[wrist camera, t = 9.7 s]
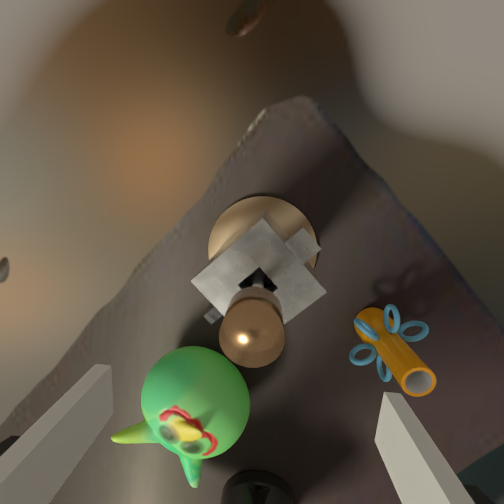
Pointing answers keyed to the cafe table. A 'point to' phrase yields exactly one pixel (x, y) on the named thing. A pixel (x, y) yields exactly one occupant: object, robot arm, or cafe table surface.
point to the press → (262, 267)
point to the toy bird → (191, 407)
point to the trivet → (248, 210)
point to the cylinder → (393, 349)
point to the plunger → (253, 324)
